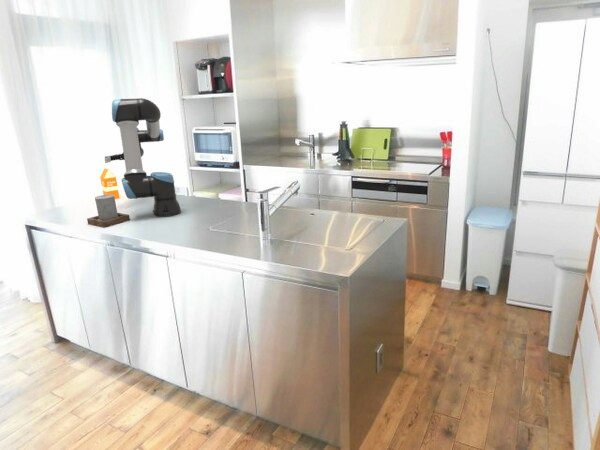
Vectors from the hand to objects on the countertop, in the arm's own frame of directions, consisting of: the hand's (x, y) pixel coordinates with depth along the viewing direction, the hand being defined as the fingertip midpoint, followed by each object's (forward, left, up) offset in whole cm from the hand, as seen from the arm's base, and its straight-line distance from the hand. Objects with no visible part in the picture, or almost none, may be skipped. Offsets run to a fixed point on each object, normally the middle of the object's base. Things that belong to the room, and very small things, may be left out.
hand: (117, 160), depth 237 cm
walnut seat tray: (-12, +19, -30) cm, 38 cm away
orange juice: (+39, -17, -30) cm, 52 cm away
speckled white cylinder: (-12, +19, -28) cm, 36 cm away
